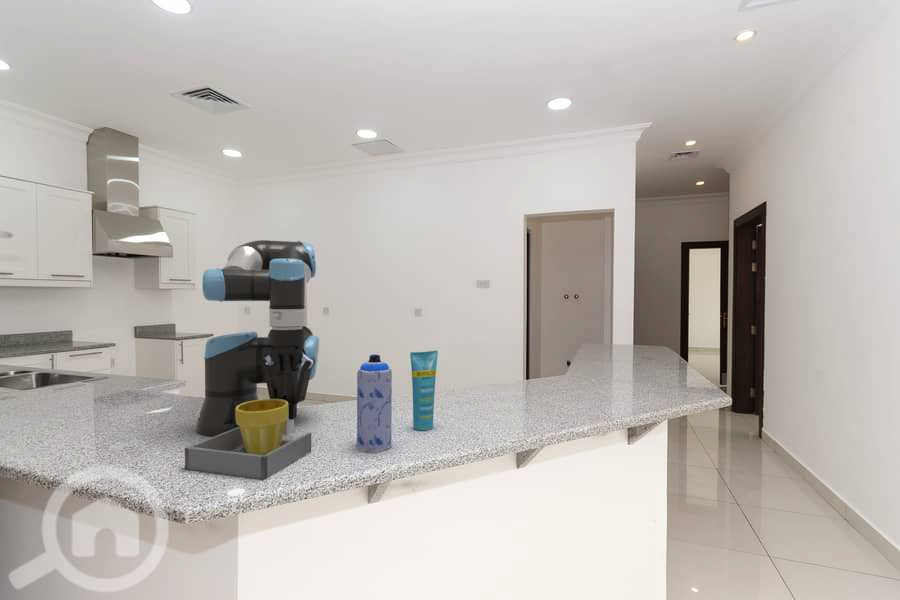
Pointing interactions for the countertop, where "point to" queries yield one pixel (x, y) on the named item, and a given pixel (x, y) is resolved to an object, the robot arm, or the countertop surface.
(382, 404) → the aerosol can
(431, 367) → the tube
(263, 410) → the plant pot
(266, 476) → the frame
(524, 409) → the countertop surface
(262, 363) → the robot arm
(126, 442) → the countertop surface
